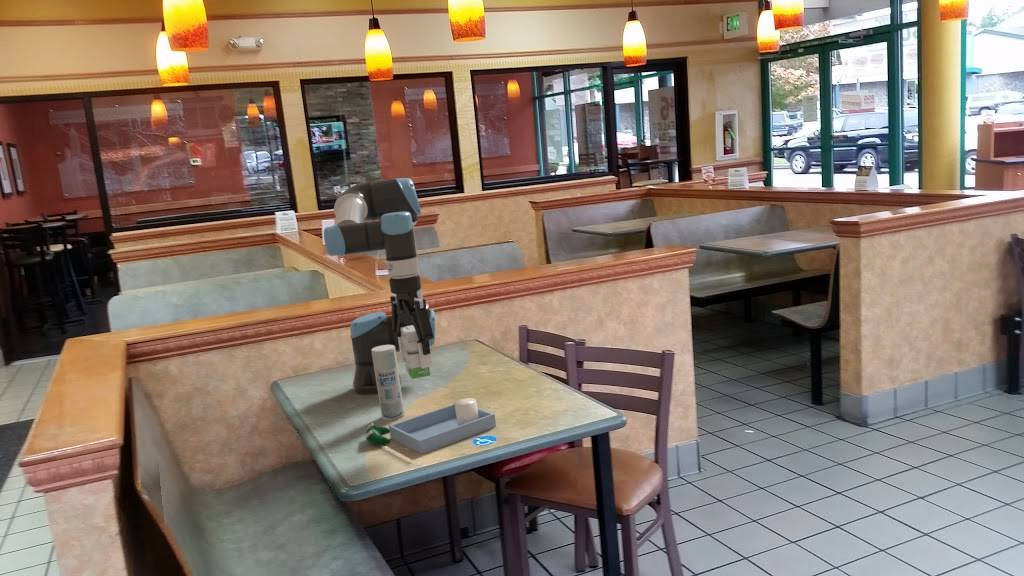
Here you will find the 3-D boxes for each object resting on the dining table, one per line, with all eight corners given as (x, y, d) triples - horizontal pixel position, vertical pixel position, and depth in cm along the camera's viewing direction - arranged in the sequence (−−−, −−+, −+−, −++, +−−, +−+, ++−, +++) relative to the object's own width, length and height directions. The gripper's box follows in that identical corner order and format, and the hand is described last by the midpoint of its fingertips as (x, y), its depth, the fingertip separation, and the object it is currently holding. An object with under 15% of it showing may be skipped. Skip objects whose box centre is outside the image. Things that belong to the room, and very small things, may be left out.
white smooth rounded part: (454, 428, 196) (450, 403, 195) (471, 421, 199) (467, 396, 198) (466, 433, 192) (462, 407, 190) (484, 426, 195) (480, 400, 194)
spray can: (404, 411, 217) (394, 343, 213) (405, 418, 210) (395, 348, 207) (381, 414, 216) (371, 346, 212) (381, 422, 209) (371, 352, 206)
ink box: (431, 376, 187) (424, 329, 185) (411, 379, 186) (404, 333, 183) (424, 367, 195) (418, 323, 193) (405, 371, 194) (399, 326, 192)
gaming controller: (383, 441, 201) (364, 428, 199) (392, 429, 200) (373, 417, 199) (382, 454, 192) (362, 441, 190) (391, 442, 191) (372, 429, 190)
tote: (391, 440, 195) (388, 425, 194) (462, 415, 207) (461, 401, 207) (421, 456, 182) (419, 441, 181) (496, 429, 195) (494, 414, 194)
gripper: (370, 275, 193) (382, 360, 197) (412, 281, 175) (425, 375, 179) (396, 270, 197) (408, 353, 201) (440, 275, 179) (452, 367, 183)
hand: (416, 363), depth 190 cm, fingers closed on ink box, 9 cm apart
